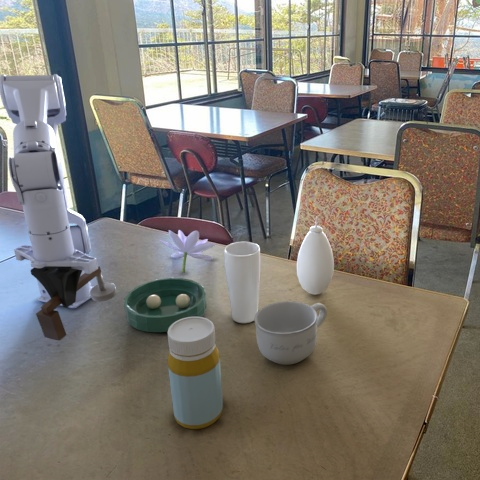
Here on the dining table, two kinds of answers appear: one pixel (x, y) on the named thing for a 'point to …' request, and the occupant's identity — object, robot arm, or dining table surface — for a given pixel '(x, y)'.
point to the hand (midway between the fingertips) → (65, 303)
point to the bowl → (163, 303)
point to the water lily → (188, 246)
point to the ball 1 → (153, 301)
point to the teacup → (288, 330)
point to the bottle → (194, 372)
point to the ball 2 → (182, 300)
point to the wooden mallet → (48, 315)
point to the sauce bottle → (315, 261)
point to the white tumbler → (243, 279)
